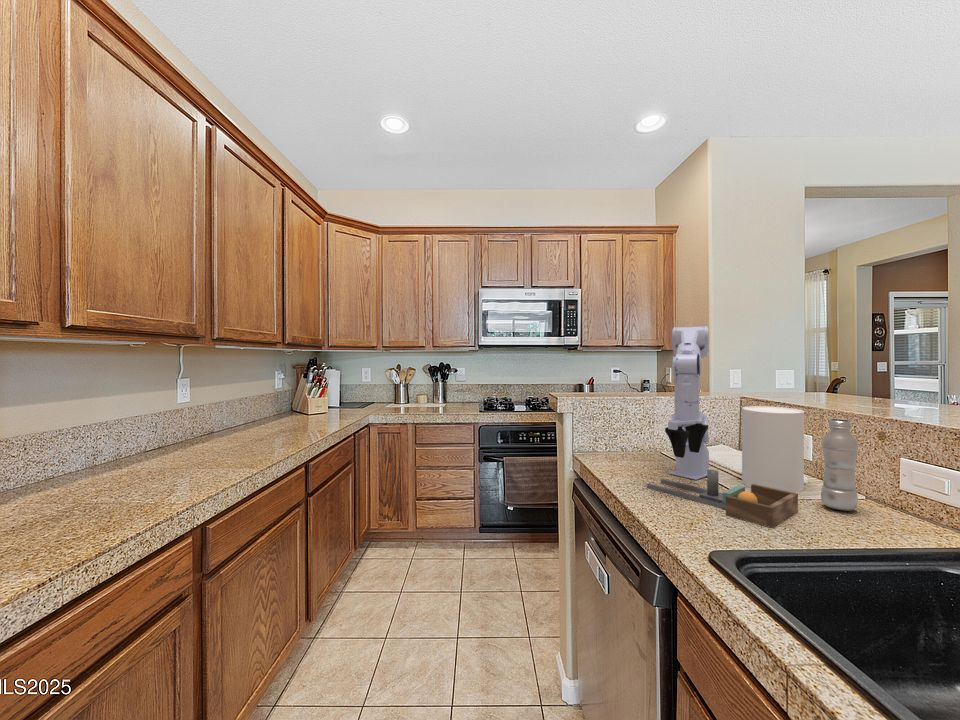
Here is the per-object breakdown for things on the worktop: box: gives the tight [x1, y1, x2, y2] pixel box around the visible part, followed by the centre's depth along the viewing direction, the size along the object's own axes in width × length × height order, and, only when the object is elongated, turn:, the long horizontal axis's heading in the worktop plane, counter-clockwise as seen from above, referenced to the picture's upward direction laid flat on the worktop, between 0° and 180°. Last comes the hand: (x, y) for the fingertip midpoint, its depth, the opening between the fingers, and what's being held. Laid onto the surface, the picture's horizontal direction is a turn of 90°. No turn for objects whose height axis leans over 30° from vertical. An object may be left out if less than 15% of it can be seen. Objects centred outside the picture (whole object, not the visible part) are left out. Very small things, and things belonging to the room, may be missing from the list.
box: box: [725, 484, 799, 528], centre depth 95 cm, size 14×9×4 cm, turn 127°
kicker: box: [698, 469, 746, 504], centre depth 102 cm, size 8×8×7 cm
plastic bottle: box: [820, 418, 859, 512], centre depth 96 cm, size 6×7×20 cm
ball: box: [737, 490, 758, 503], centre depth 97 cm, size 4×4×4 cm
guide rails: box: [646, 478, 726, 510], centre depth 107 cm, size 7×20×1 cm, turn 37°
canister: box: [741, 405, 805, 494], centre depth 114 cm, size 14×14×20 cm
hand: (686, 454), depth 110 cm, fingers open, 7 cm apart
